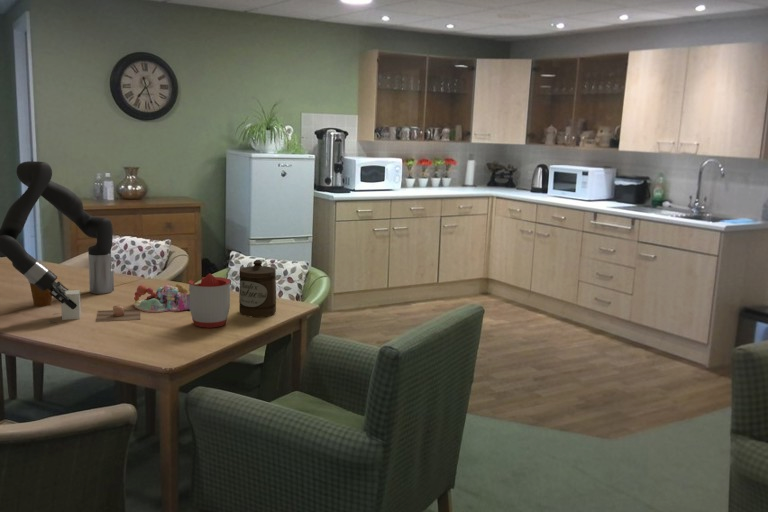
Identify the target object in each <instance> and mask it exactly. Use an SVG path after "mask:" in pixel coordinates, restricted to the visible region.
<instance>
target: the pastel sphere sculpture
mask: <svg viewBox="0 0 768 512" xmlns="http://www.w3.org/2000/svg"><path fill="white" fill-rule="evenodd" d="M146 294H147V295H148V296H146V298H144V299H141V300H139V299H140V298H141V297H142V296H144V295H146ZM133 300H134V301H135V302H134V303H133V307H134V308H135V309H139V310H140V312H141V311H143V312H146V313H156V314H157V313H164V312H168V311H169V312H182V311H187V310H189V311H190V303H189V288H186V286H185V285H183V284H181V283H177V284H176V285H175V286H172V285H170V284H167V285H166V284H165V285H164V286H163V287H161V286H160V287H158V288H157V289H156V292H155V291H154V288H152V287H148V288H147V286H146V285H143V284H140V285H138V286H137V288H136V291H135V292H134V299H133Z"/></svg>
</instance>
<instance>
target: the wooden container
mask: <svg viewBox="0 0 768 512" xmlns="http://www.w3.org/2000/svg"><path fill="white" fill-rule="evenodd" d="M262 264H263V261H262V260H260V259H255V260H254V261H253V265H251V266H245V267H241V268H239V296H238V297H239V298H238V299H239V300H238V302H239V307H238V309H239V313H240V315H242V316H244V315H246V316H245V317H249V316H252V317H251V318H261V316H265V317H270V316H273V315H275V314H276V313H275V312H277V284H276V283H277V279H276V278H277V276H276V275H277V273H276V272H277V269H275V268H274V267H272V266H265V265H262ZM274 313H275V314H274ZM272 314H273V315H272ZM269 315H270V316H269Z"/></svg>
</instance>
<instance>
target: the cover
mask: <svg viewBox="0 0 768 512" xmlns="http://www.w3.org/2000/svg"><path fill="white" fill-rule="evenodd" d="M64 292H65V293H66V294H65V295H66V296H67V297H69V299H70V300H72V301H73V302H74V303H75V304H76V305H77V306H76V307H75V308H74V309H71V308H70V307H69V306H68V305H66V304H64V303H63V304H62V303H61V302H60V304H61V305H60V306H61V320H62V321H63V320H65V321H66V320H67V321H68V320H80V319H81V318H82V317H81V316H82V308H81V307H82V303H81V301H82V300H81V289H73V290H69V289H68V290H67V291H64ZM61 299H63V297H62V298H61Z"/></svg>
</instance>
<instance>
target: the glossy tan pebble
mask: <svg viewBox="0 0 768 512" xmlns="http://www.w3.org/2000/svg"><path fill="white" fill-rule="evenodd" d="M112 310H113V316H115V317H120V316H124V310H125V306H124V305H121V304H119V305H118V304H117V305H113V307H112Z"/></svg>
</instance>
